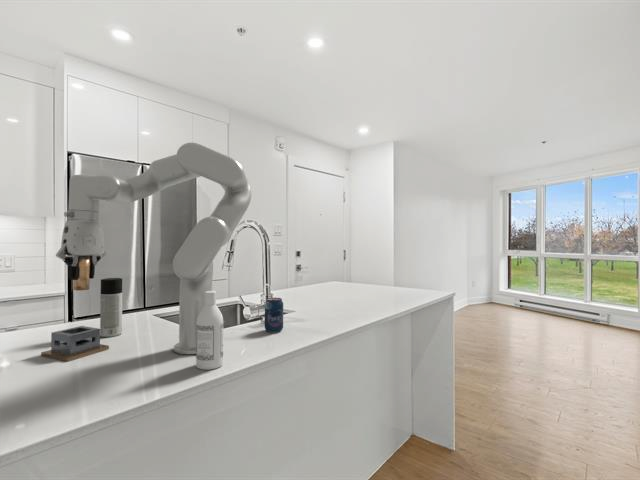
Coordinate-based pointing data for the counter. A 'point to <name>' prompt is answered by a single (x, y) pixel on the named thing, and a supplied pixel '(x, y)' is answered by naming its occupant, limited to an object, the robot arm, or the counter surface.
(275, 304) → the soda can
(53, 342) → the collar stand
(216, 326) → the bath foam
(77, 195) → the robot arm
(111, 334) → the spray can
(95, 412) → the counter surface
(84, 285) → the copper tube
